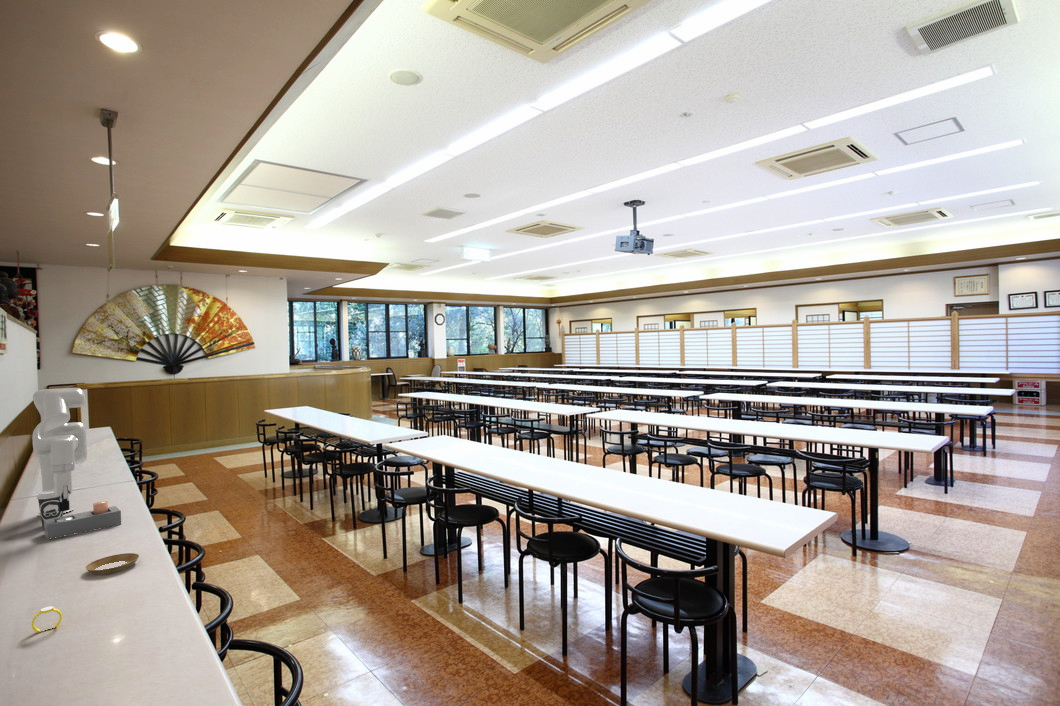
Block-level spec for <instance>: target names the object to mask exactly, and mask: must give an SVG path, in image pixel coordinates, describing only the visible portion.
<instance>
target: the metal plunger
mask: <svg viewBox="0 0 1060 706" xmlns="http://www.w3.org/2000/svg"><path fill="white" fill-rule="evenodd" d="M71 519H73V517H66V518H61V519H58V520H57V522H60V521H65V520H71Z"/></svg>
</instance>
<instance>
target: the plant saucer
mask: <svg viewBox="0 0 1060 706" xmlns="http://www.w3.org/2000/svg"><path fill="white" fill-rule="evenodd" d="M139 558H140V555H139V554H138V553H134V552H132V553H131V552H129V553H127V552H126V553H119V554H112V555H108V556H104V557H102V558H98V559H95V560H94V561H91V562H90V563H88V564H87V565H86V566H85V567H84V568H85V570H87V571H88V572H89V573H91V574H93V575H97V574H98V575H99V574H103V575H110V574H114V573H119V572H122V571H125V570H126V569H129V568H130V567H132V566H133V565H134V564H135V563H136V562H137V561H138V559H139ZM119 561H125V562H127V563H125V564H122V565H121V566H118V567H114V568H109V569H103V570H95V569H96V568H98V567H100V566H102V565H105V564H109V563H114V562H119ZM121 570H122V571H121ZM118 571H119V572H118ZM98 575H97V576H98ZM99 576H100V575H99Z"/></svg>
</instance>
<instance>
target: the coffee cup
mask: <svg viewBox="0 0 1060 706" xmlns="http://www.w3.org/2000/svg"><path fill="white" fill-rule="evenodd" d="M36 499H37V500H38V507H39V512H40V515H41V516H40V521H41V527H42V528H44V520H46V519H52V518H57V517H62V516H64V514H63V511H61V512H60V511H59V502H60V501H59V496H58V497H57V496H56V495H55V494H54V490H47V491H43V492H42V491H39V493H38V495H37V496H36Z"/></svg>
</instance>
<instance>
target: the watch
mask: <svg viewBox="0 0 1060 706" xmlns="http://www.w3.org/2000/svg"><path fill="white" fill-rule="evenodd" d="M51 612H56V614H58V616H59V619H58V621H57V623H56V624H54V625H53V626H54V628H55V627H56V628H57V627H58V626H59V625H60V624H61V622H62V619H63V615H62V614H63V613H62V612H61V610H59V608H55V607H54V606H51V605H49V606H46V607H42V608H41V609H40V610H39V612H37V613H36V614H35V615H34V617H33V618H32V621H31V628H32V629H33V631H35V632H36V633H39V631H40V629H41V628H37V626H36V625H35V621H36V619H37V617H39V616H40V615H41V614H42V615H43V614H48V613H51ZM56 628H55V629H56Z"/></svg>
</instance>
